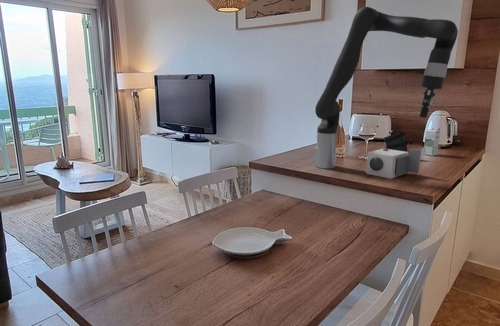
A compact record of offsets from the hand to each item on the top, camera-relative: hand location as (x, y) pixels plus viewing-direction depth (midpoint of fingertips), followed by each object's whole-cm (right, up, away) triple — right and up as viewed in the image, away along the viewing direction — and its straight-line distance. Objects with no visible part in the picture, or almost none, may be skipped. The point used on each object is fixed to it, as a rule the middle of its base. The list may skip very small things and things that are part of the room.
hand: (423, 117), depth 138 cm
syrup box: (+35, -14, +61) cm, 72 cm away
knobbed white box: (-6, -23, +21) cm, 32 cm away
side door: (0, -23, +15) cm, 28 cm away
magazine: (+12, -15, +55) cm, 58 cm away
